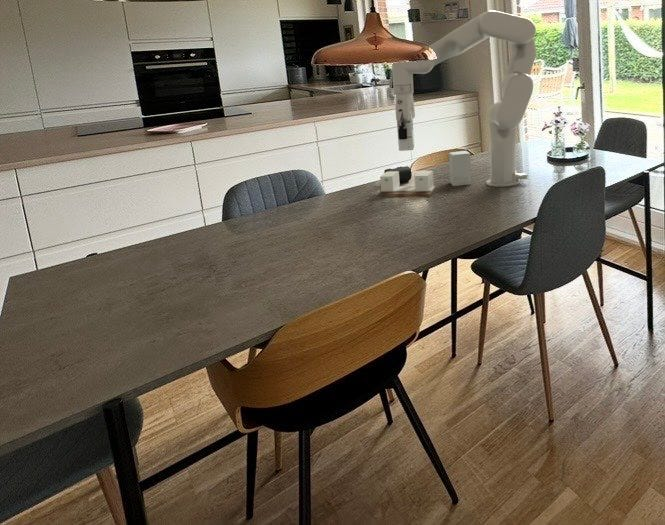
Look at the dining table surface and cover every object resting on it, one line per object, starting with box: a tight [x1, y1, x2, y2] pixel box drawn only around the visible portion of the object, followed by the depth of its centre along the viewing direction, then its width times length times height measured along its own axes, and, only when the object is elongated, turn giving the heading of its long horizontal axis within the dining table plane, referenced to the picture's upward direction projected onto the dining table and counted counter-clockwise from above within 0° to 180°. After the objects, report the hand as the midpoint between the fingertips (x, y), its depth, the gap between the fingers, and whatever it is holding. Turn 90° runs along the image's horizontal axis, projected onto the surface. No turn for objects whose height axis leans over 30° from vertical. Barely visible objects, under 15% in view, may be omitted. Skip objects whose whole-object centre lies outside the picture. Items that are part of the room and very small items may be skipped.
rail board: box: [377, 185, 438, 198], centre depth 226 cm, size 21×12×2 cm, turn 67°
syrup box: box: [396, 112, 415, 152], centre depth 218 cm, size 6×6×14 cm
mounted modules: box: [379, 170, 435, 191], centre depth 224 cm, size 19×9×6 cm, turn 67°
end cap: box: [383, 165, 413, 184], centre depth 243 cm, size 10×7×7 cm
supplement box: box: [448, 150, 472, 187], centre depth 230 cm, size 7×7×13 cm
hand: (405, 137), depth 219 cm, fingers closed on syrup box, 6 cm apart
